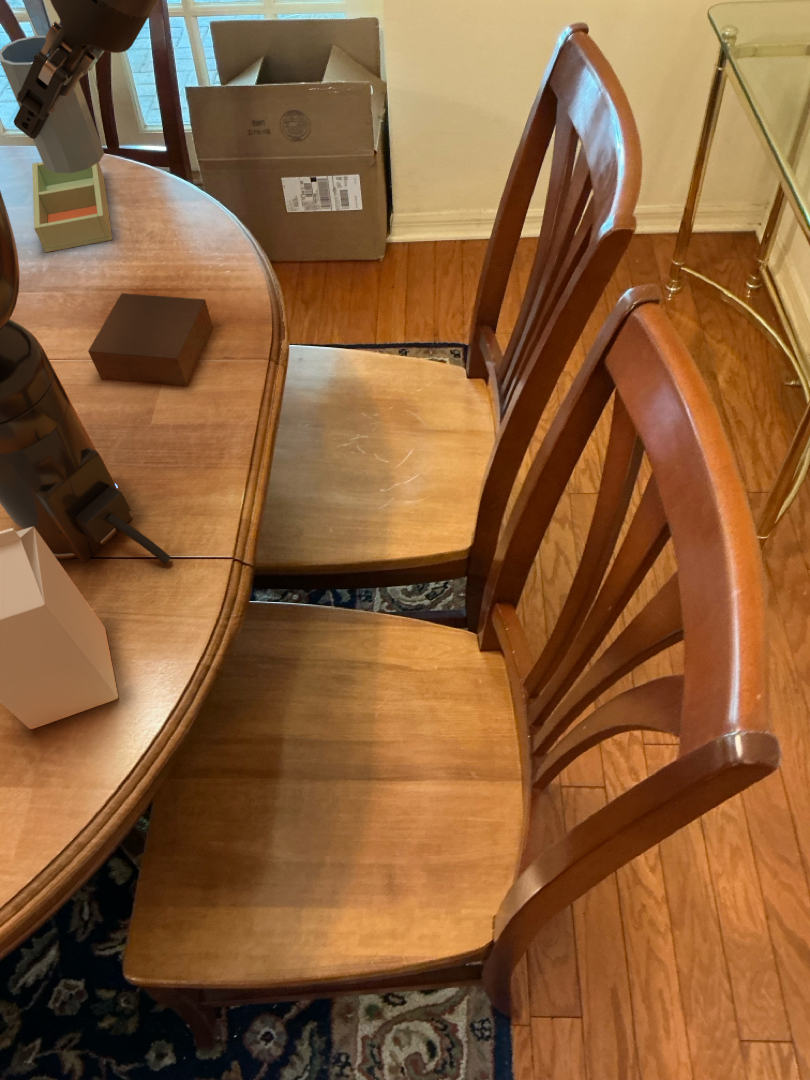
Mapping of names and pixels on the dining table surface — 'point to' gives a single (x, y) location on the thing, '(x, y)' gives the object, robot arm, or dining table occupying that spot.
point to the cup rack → (70, 207)
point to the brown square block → (152, 339)
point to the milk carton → (47, 636)
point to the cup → (55, 114)
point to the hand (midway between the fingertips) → (40, 112)
